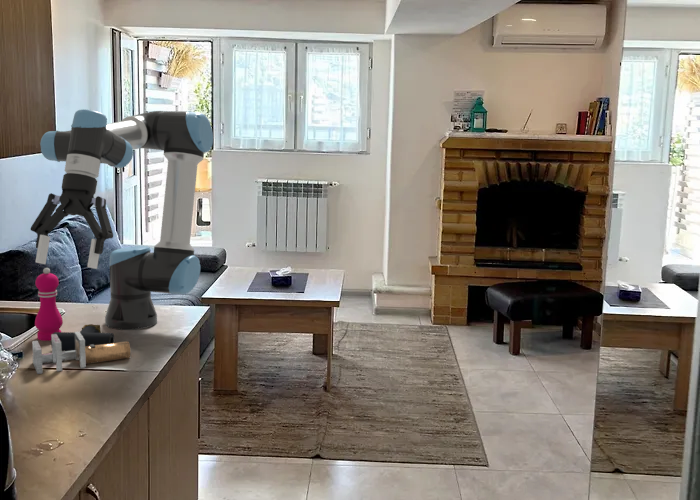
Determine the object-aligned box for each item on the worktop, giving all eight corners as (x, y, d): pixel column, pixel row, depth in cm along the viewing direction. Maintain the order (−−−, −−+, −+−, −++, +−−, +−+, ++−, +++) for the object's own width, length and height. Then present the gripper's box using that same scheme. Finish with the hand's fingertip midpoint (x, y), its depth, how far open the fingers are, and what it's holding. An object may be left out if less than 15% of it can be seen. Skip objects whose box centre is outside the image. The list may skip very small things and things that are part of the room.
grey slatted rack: (79, 357, 192) (78, 330, 191) (85, 367, 184) (84, 339, 183) (32, 362, 186) (31, 335, 185) (37, 374, 179) (36, 345, 177)
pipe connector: (65, 322, 205) (119, 323, 206) (65, 340, 206) (120, 341, 207) (50, 334, 194) (108, 335, 195) (51, 354, 195) (109, 354, 196)
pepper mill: (65, 333, 212) (62, 265, 208) (61, 341, 205) (58, 270, 201) (38, 334, 210) (35, 265, 207) (33, 341, 203) (29, 270, 200)
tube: (126, 355, 195) (126, 339, 194) (130, 360, 191) (130, 343, 190) (79, 361, 189) (78, 344, 188) (82, 366, 185) (81, 349, 184)
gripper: (24, 169, 172) (8, 259, 169) (119, 174, 166) (105, 267, 163) (44, 177, 179) (29, 263, 176) (136, 182, 173) (123, 272, 170)
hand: (66, 265), depth 170 cm, fingers open, 13 cm apart
